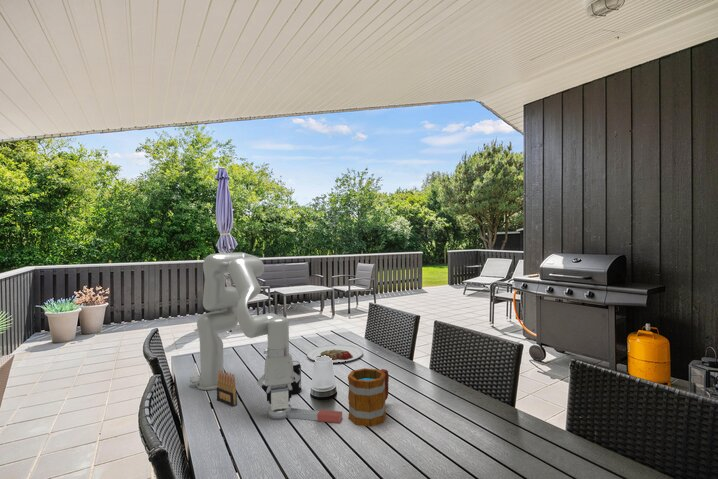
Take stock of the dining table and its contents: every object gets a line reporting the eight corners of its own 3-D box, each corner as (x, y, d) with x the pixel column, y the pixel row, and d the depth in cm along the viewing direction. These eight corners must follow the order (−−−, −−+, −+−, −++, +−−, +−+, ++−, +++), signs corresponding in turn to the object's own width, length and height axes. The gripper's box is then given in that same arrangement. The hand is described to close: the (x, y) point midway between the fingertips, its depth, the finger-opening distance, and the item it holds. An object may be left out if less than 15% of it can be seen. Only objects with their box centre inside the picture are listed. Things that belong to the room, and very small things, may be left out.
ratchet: (264, 418, 134) (264, 401, 134) (274, 408, 142) (274, 392, 142) (337, 426, 128) (337, 408, 128) (344, 415, 135) (343, 398, 135)
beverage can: (297, 395, 153) (297, 365, 153) (282, 394, 155) (282, 365, 154) (303, 389, 160) (303, 360, 160) (288, 388, 161) (288, 359, 161)
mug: (371, 430, 124) (370, 385, 124) (340, 419, 133) (339, 376, 133) (403, 408, 140) (402, 368, 140) (373, 399, 148) (372, 361, 148)
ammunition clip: (237, 405, 145) (236, 373, 145) (233, 406, 144) (232, 375, 144) (220, 398, 152) (220, 368, 152) (216, 400, 150) (215, 369, 150)
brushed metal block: (271, 410, 133) (271, 390, 133) (270, 402, 139) (270, 383, 139) (288, 407, 135) (288, 388, 135) (286, 400, 141) (286, 381, 141)
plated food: (315, 347, 221) (315, 341, 221) (366, 348, 217) (366, 342, 217) (299, 364, 191) (299, 357, 191) (358, 366, 187) (358, 359, 187)
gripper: (253, 357, 131) (254, 409, 131) (303, 352, 136) (304, 402, 136) (253, 351, 138) (254, 400, 138) (301, 346, 143) (301, 394, 143)
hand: (279, 400), depth 137 cm, fingers closed on brushed metal block, 5 cm apart
